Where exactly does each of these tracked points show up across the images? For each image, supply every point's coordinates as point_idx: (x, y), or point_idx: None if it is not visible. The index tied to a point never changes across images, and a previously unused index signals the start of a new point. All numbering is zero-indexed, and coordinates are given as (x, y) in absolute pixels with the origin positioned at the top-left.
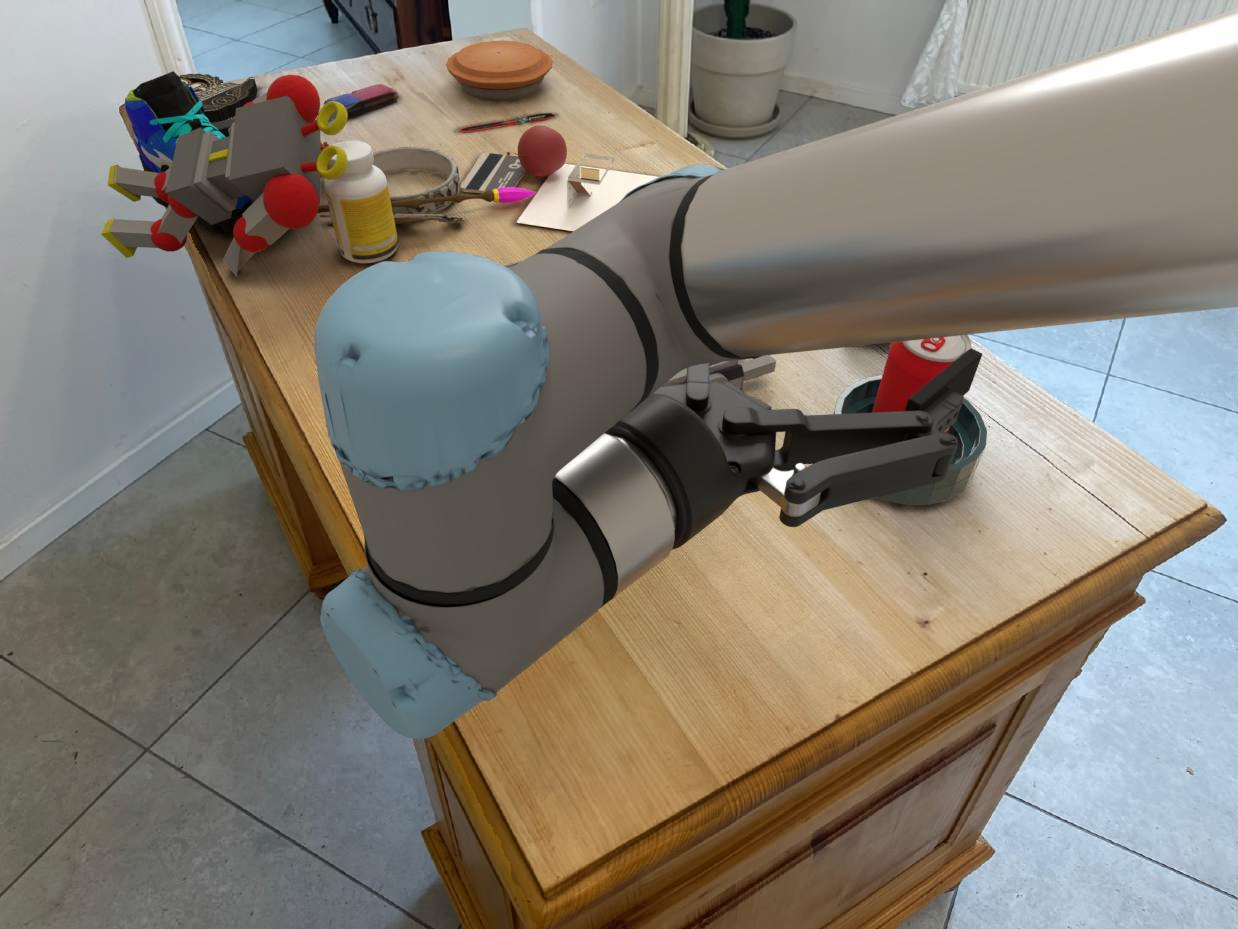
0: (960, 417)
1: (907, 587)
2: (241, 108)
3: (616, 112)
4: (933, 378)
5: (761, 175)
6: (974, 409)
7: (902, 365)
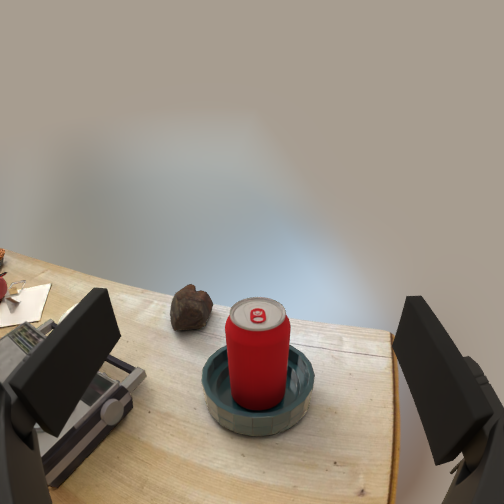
0: None
1: (334, 479)
2: None
3: (31, 263)
4: (446, 360)
5: None
6: None
7: (247, 343)
